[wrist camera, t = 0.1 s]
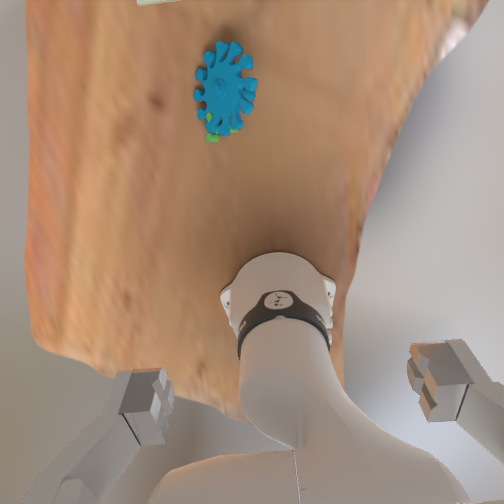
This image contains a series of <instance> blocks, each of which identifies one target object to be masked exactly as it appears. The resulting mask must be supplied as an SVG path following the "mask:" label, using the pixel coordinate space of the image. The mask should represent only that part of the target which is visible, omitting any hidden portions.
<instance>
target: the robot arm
mask: <svg viewBox="0 0 504 504" xmlns="http://www.w3.org/2000/svg"><path fill="white" fill-rule="evenodd" d="M328 292H329V293H328ZM335 292H336V284H335V282H334V281H333V280H332V279H330V278H328V277H326V276H324V275H321V274H320V273H319V272H318V271H317V270H316V269H315V268H314V267H313V266H312V265H311V264H310V263H309V262H308V261H306V260H305V259H303V258H301V257H299V256H297V255H294V254H290V253H284V252H274V253H267V254H264V255H261V256H258V257H256V258H254V259H252V260H251V261H249V262H248V263H247V264H245V265H244V266H243V267H242V268H241V270H240V271H239V272H238V274H237V276H236V278H235V279H234V281H233V282H232V283H231V284H230V285H229V286H227V287H226V288H225V289H223V290H222V291H221V293H220V300H221V303H222V305H223V307H224V309H225V312H226V314H227V316H228V318H229V325H230V326H232V328H233V331H234V333H235V335H236V337H237V348H238V357H239V360H240V376H239V401H240V405H241V408H242V410H243V412H244V414H245V416H246V417H247V419H248V420H249V421H250V422H251V423H252V424H253V426H254V427H255V428H256V429H257V430H259V431H260V432H261V433H262V434H263V435H265V436H267V437H268V438H270V439H272V440H275V441H277V442H280V443H281V444H283V445H286V446H288V447H289V448H291V449H292V450H288V451H274V452H260V453H246V454H232V455H220V456H216V457H213V458H209V459H206V460H202V461H199V462H195V463H192V464H189V465H186V466H183V467H180V468H177V469H174V470H171V471H169V472H168V473H167V474H166V475H165V476H164V477H163V479H162V480H161V481H160V482H159V484H158V485H157V487H156V488H155V489H154V491H153V493H152V495H151V497H150V498H149V500H148V503H147V504H299V497H298V487H297V477H296V469H295V459H294V451H295V455H296V464H297V473H298V483H299V492H300V502H301V504H504V500H497V501H481V502H471V500H470V498H469V496H468V494H467V493H466V491H465V490H464V488H463V487H462V485H461V484H460V483H459V481H458V480H457V479H456V477H455V476H454V475H453V474H452V473H451V472H450V471H449V469H448V468H447V467H445V466H444V465H443V464H442V463H441V462H440V461H439V460H438V459H436V458H435V457H434V456H433V455H431V454H430V453H428V452H426V451H424V450H421V449H419V448H416V447H414V446H412V445H410V444H408V443H406V442H404V441H402V440H400V439H398V438H397V437H395V436H393V435H392V434H390V433H388V432H387V431H385V430H384V429H383V428H381V427H380V426H378V425H377V424H376V423H374V422H373V421H372V420H371V419H369V418H368V417H367V416H366V415H365V414H364V413H363V412H362V411H361V410H360V409H359V408H358V407H357V406H356V405H355V404H354V403H353V402H352V401H351V400H350V398H349V397H348V396H347V394H346V393H345V391H344V390H343V388H342V386H341V384H340V382H339V380H338V377H337V375H336V372H335V369H334V367H333V364H332V361H331V358H330V354H329V353H330V345H331V343H332V334H331V331H329V330H327V329H328V328H332V327H333V321H332V319H330V317H331V316H332V305H333V301H334V296H335ZM228 302H229V303H228ZM409 352H410V354H411V356H412V357H411V358H410V359H409V360H408V362H407V374H408V378H409V382H410V384H411V386H412V389H413V390H414V391H415V392H417V393H418V394H419V395H420V399H419V404H420V406H421V408H422V411H423V413H424V415H425V417H426V419H427V421H428V422H444V421H456V423H458V424H459V425H460V426H461V427H462V428H463V429H464V430H466V431H467V432H468V433H469V434H470V435H471V436H472V437H473V438H475V439H476V440H477V441H478V442H479V443H480V444H481V445H483V447H485V448H486V449H487V450H488V451H489V452H490V453H491V454H492V455H494V456H495V457H496V458H497V459H498V460H499V461H500V462H501V463H503V464H504V385H502V384H500V383H499V382H492V380H491V379H490V377H489V376H488V374H487V373H486V371H485V370H484V369H483V367H482V366H481V364H480V363H479V361H478V360H477V359H476V357H475V356H474V354H473V353H472V352H471V350H470V349H469V347H468V346H467V344H466V343H465V342H464V341H463V340H462V339H455V340H445V341H443V340H442V341H432V342H422V343H414V344H412V345H411V346H410V351H409ZM167 376H168V373H167V371H166V369H165V368H149V369H134V370H123V371H119V373H118V374H117V375H116V378H115V380H114V383H113V386H112V388H111V391H110V394H109V396H108V399H107V401H106V404H105V407H104V409H103V412H102V415H101V416H98V417H96V418H95V419H94V420H93V421H92V422H91V423H90V424H89V425H88V426H87V427H86V428H85V429H84V430H83V431H82V432H81V433H80V434H79V435H78V436H77V437H76V438H75V439H74V440H72V441H71V442H70V444H69V445H67V446H66V447H65V448H64V449H63V450H62V451H61V452H60V453H59V454H58V455H57V456H56V457H55V458H54V459H53V460H52V461H51V462H50V463H49V464H48V465H47V466H46V467H45V468H44V469H43V470H42V471H41V472H40V473H39V475H37V476H36V477H35V478H34V479H33V480H32V482H31V484H30V486H29V488H28V490H27V492H26V494H25V496H24V498H23V501H22V503H21V504H101V503H102V501H103V500H104V498H105V497H106V496H107V494H108V493H109V492H110V490H111V489H112V488H113V486H114V485H115V483H116V482H117V481H118V479H119V478H120V476H121V475H122V474H123V472H124V471H125V469H126V468H127V467H128V465H129V464H130V462H131V461H132V460H133V458H134V457H135V455H136V454H137V453H138V451H139V450H140V448H141V447H140V446H146V445H155V444H164V443H166V442H167V437H168V431H169V426H170V422H169V420H168V417H167V416H168V415H169V414H170V413H171V412H172V411H173V405H174V389H173V385H172V383H171V382H170V381H169V380H167Z"/></svg>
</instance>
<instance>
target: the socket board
mask: <svg viewBox="0 0 504 504" xmlns="http://www.w3.org/2000/svg"><path fill="white" fill-rule="evenodd" d="M175 1H181V0H137V4H138V5H139V6H148V5H155V4H161V3H168V2H175Z"/></svg>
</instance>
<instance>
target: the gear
mask: <svg viewBox="0 0 504 504" xmlns="http://www.w3.org/2000/svg"><path fill="white" fill-rule="evenodd" d="M228 50H229V52H228ZM227 52H228V55H227V57H226V58H225V60H224V57H225V55H226V54H227ZM242 53H243V48H242V46H241V45H240V44H239V43H237V42H234V41H233V42H232V43H231V44H230V48H229V45H228V44H226V43H223V42H217V43H216V54H215V52H211V51H208V52H206V53H205V54H204V56H203V58H204V61H205V63H206V65H207V71H208V75H207V71H206V70H204V69H200V68H199V69H198V71H197V73H196V79H197V80H199V81H200V82H201V83H202V84H203V86H204V89H205V93H204V91H202V90H197V89H196V90H195V93H194V100H195V101H199V102H202V101H205V102H206V103H207V109H198V111H197V113H198V118H199V120H204V121H205V120H207V121H208V122H207V123H206V126H205V127H206V129H207V131H208V132H209V133H208V134H207V135H206V140H207V142H215V143H217V142H219V139H220V138H219V135H220V136H229V135H230V133H237V132H238V130H240V129H241V128H243V126H244V124H243V121H242V120H241V117H240V113H239V104H240V110H241V112H242V113H243V114H247V115H249V114H250V113H251V112H252V110H253V108H254V104H253V103H252V102H249V101H254V100H255V97H256V95H255V93H254V92H255V91H256V88H257V79H254V78H250V77H248V78H246V79H243V78H242V77H241V71H242V69H247V70H251V69H252V68H253V60H252V56H248V55H243V56H242V58H241V59H240V61H239V62H238V63H237V64H235V65H234V59H235V58H236V57H238V56H240V55H241V54H242ZM214 64H215V65H214ZM243 87H245V89H246V90H247V91H246V90H243ZM250 91H251V92H250ZM248 100H249V101H248ZM231 117H232V120H231ZM230 120H231V124H230ZM212 133H213V134H212Z"/></svg>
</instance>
